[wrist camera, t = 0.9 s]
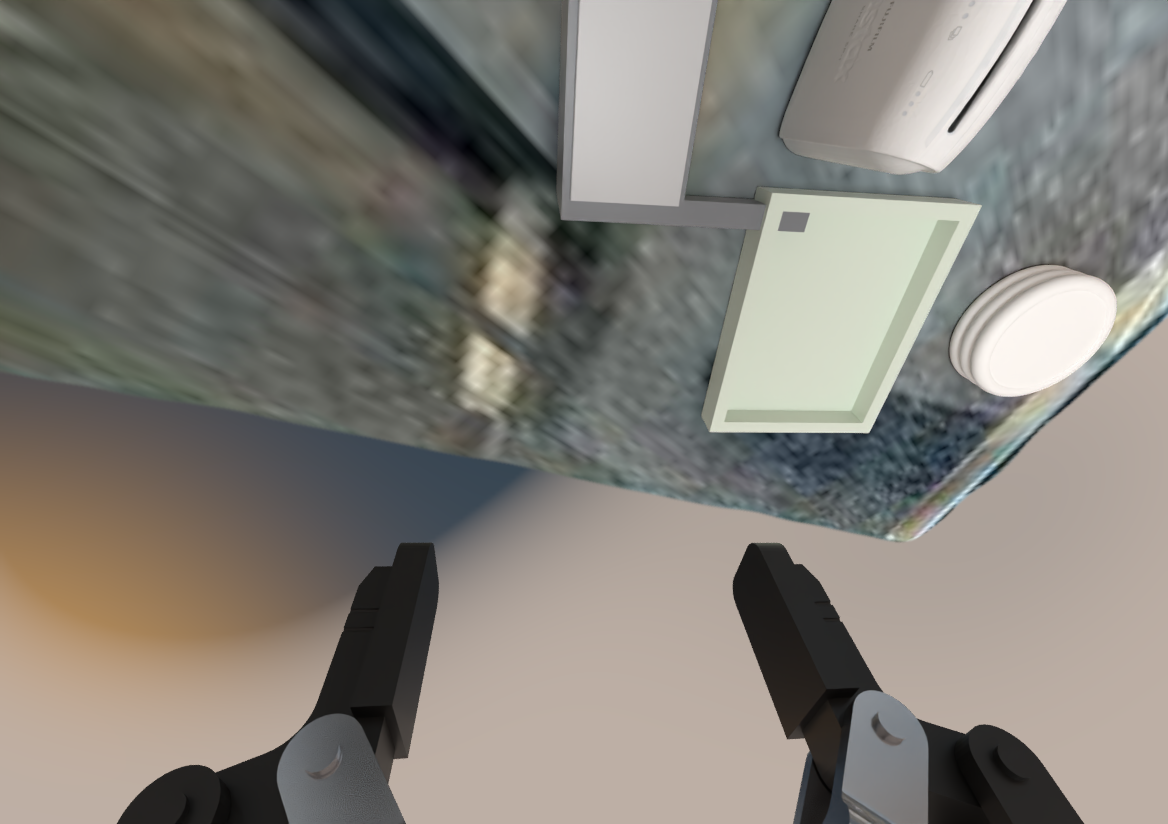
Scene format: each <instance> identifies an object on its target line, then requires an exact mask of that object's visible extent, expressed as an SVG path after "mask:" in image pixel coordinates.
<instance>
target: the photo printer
mask: <svg viewBox="0 0 1168 824" xmlns="http://www.w3.org/2000/svg"><path fill="white" fill-rule="evenodd" d="M1066 1H1067V0H832V2H831V4H830V6H829V9H828V11H827V13H826V15H825V18H824V20H823V22H822V24H821V27H820V29H819V31H818V34H817V36H816V38H815V41H814V43H813V46H812V48H811V50H810V53H809V55H808V57H807V60H806V62H805V65H804V67H803V70H802V72H801V75H800V77H799V80H798V82H797V85H796V87H795V90H794V92H793V94H792V97H791V99H790V102H789V105H788V107H787V110H786V112H785V115H784V118H783V122H782V125H781V129H780V133H779V137H780V138H782V139H783V141H784V143H785V145H786V146H787V148H788V149H789V150H790V151H792V152H793V153H795V154H796V155H800V156H804V157H809V158H814V159H819V160H824V161H829V162H834V163H839V164H844V165H849V166H855V167H860V168H865V169H870V170H875V171H881V172H886V173H890V174H910V173H915V172H919V171H923V172H929V173H939V172H941V171H942V170H943V169H944V168H945V167H946V166H947V165H948V164H949V163H950V162H951V161H952V160H953V159H954V158H955V157H956V156H957V155H958V154H959V153H960V152H961V151H962V150H963V149H964V148H965V147H966V146H967V144H968V143H969V142H970V141H971V140H972V139H973V138H974V136H975V135H976V134H977V133H978V132H979V130H980V129H981V128H982V127H983V125H984V124H985V123H986V122H987V120H988V119H989V118H990V117H991V115H992V114H993V113H994V111H995V110H996V109H997V108H998V106H999V105H1000V103H1001V102H1002V101H1003V99H1004V98H1005V97H1006V95H1007V94H1008V93H1009V91H1010V90H1011V88H1012V87H1013V85H1014V84H1015V83H1016V82H1017V80H1018V79H1019V78H1020V76H1021V75H1022V74H1023V72H1024V70H1025V68H1026V66H1027V65H1028V63H1029V62H1030V60H1031V59H1032V57H1033V56H1034V55H1035V54H1036V52H1037V51H1038V49H1039V47H1040V45H1041V43H1042V42H1043V40H1044V38H1045V37H1046V35H1047V34H1048V32H1049V31H1050V29H1051V27H1052V26H1053V24H1054V22H1055V21H1056V19H1057V17H1058V15H1059V13H1060V12H1061V10H1062V8H1063V7H1064V5H1065V3H1066Z"/></svg>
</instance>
